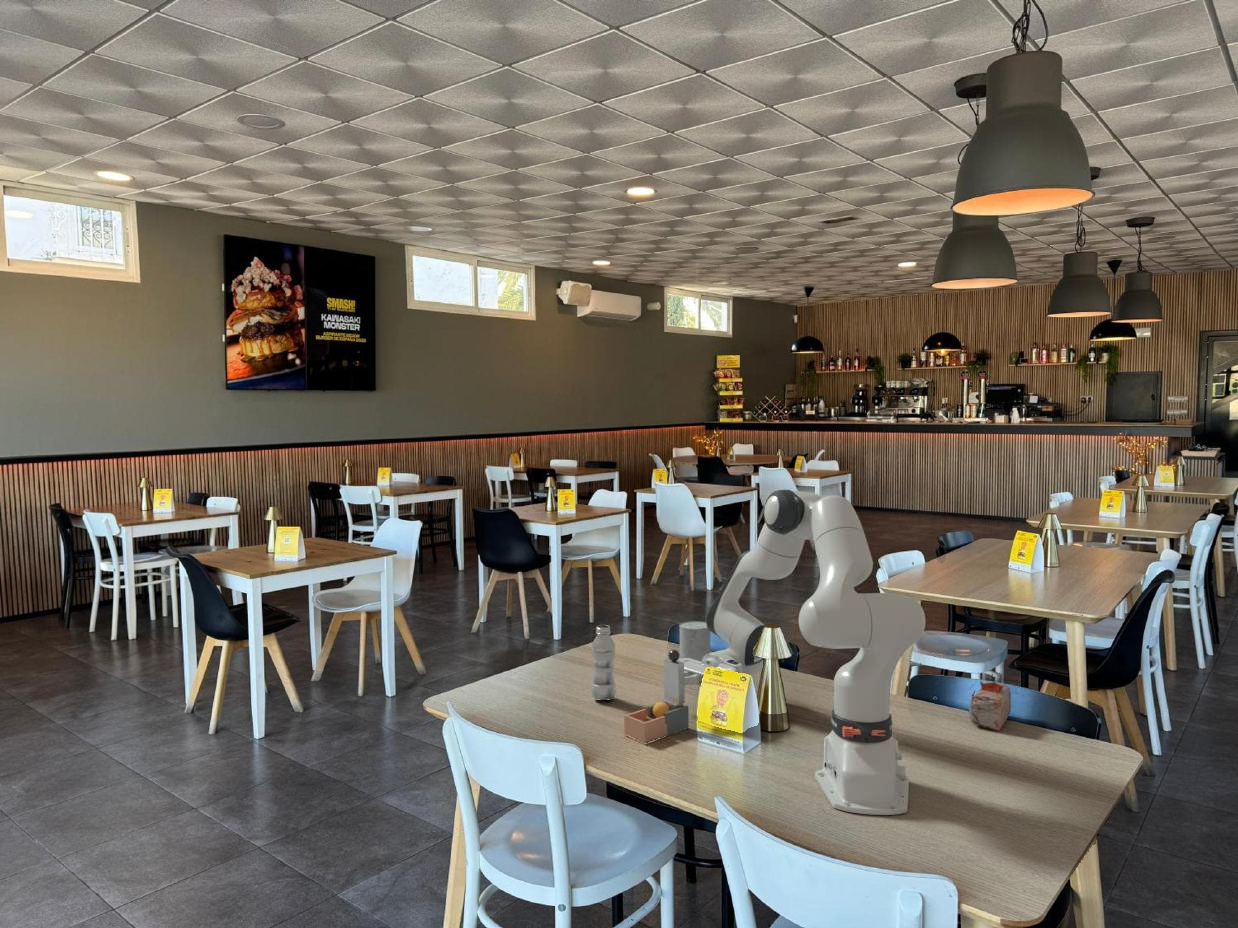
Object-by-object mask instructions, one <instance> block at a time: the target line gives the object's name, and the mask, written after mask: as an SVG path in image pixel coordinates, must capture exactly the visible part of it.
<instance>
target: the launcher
mask: <svg viewBox="0 0 1238 928" xmlns="http://www.w3.org/2000/svg"><path fill="white" fill-rule="evenodd" d="M655 704H656V703H653V704H652V705H649V706H647V707H646V715H647V717H649V718H651V719H656V717H655V716H654V714H653V707H654V706H655ZM689 715H690V714H689V705H683V707H680V708H677V709H674V710H671V711H668V712H665V713H664V716H665V724H667V735H669V734H671V735H673V734H672V733H674V734H676V733H675V732H677V733H679V732H678V731H680V730H683V729H685V728H688V727H689V726H690V725H689V724H690V723H689ZM688 729H689V728H688ZM685 730H686V729H685ZM683 731H684V730H683ZM680 732H681V731H680ZM669 736H670V735H669Z"/></svg>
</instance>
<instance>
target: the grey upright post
mask: <svg viewBox="0 0 1238 928" xmlns="http://www.w3.org/2000/svg"><path fill="white" fill-rule="evenodd" d="M667 656H668V657H667V659H663V675H664V676H663V680H664V681H663V682H664V683H663V685H664V686H663V687H664V691H663V692H664V693H663V694H664V699H663V700H662V702H664V703H666V704H667V705H668V707H669V711H671V710H674V709H677V708H680V707H683V706H684V704H685V691H686V690H685V686H684V662H681V661H677V660H678V659H680V651H678V650H677V649H671V650H670V651H668V655H667Z"/></svg>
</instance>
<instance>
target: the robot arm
mask: <svg viewBox="0 0 1238 928" xmlns="http://www.w3.org/2000/svg"><path fill="white" fill-rule="evenodd" d="M763 519H764V524H763V526H762V529H761V530H760V532H759V536H758V538H757V540H756V541H757V542H756V543H755V545H754V547H753V548H752V549H750V550H748V549H747V550H746V551H743V552H742V554H741V555H740V556H739V557H738V558H737V560H736V562H735V563H734V565H733V566H732V568H731V570H730V571H729V574H728V576H727V578H726V580H725V582H724V584H723V585H722V588H721V589H720V590H719V593H718V595H717V596H716V598H715V600H713V601H712V603H710V605H709V607H708V608H707V611H706V614H705V622H706V624H707V628H708V630H709V631H710V633H712V634H714V635H715V636H717V637H719V638H720V639H722V640H723V641H725V642H726V643H727V644H728V648H726V649H721V650H720V649H719V650H717V651H713V652H710V653H709V654H706V655H705V656H704V657H703V659H702V661H698V660H694V659H691V658H680V657H679V659H678V660H677V661H681V662H684V687H685V686H688V685H690V686H691V685H696V686H699V687H702V686H701V683H702V678H703V676H704V671H705V669H706V667H714V668H720V669H722V670H730V671H735V672H738V673H747V674H749V675H751V676H752V677H754V676H756V675H758V674H759V673H760V672H762V671H763V670H762V668H763V660H762V658H756V657H753V654H752V653H753V648H754V646H755V645H756V643H757V642H758V639H759V637H760V636H761V633H762V629H763V628H764V627H768V626H766V625H765V623H763V622H762V621H760V620H759V619H757V618H756V617H755V616H753V615H751V614H750V613H749V612H748V611H747V610H746V609H743V608H742V606H741V605H740V603H739V602H740V601H739V599H740V598H741V596H742V594H743V593H744V590H745V588H746V587H747V585H748V583H749V581H750V580H751V578H757V579H762V580H768V581H769V580H770V581H772V580H773V581H775V580H781V579H784V578H786V577H788V576H790V574H792V573H793V571H794V570H795V568H797V567H796V566H797V565H798V562H799V560H800V556H801V554H802V551H803V548H804V545H805V541H807V540H808V541H812V542H813V544H814V550H815V552H816V556H817V557H816V558H817V561H818V562H817V563H818V567H819V583H818V586H817V588H816V590H815V592H814V593H813V594H812V595H811V596H810V597H809V598H807V600H806V601H804V603H803V604H802V606H801V608H800V610H799V615H798V626H799V630H800V633H801V635H802V636H803V638H804V639H805V641H806V642H807V643H808V644H809V645H811V646H814V647H819V648H825V649H832V650H838V649H839V650H843V649H859V650H858V652H857V654H856V655H855V656H854V657H853V659H851V660H850V661H849V662H847V663H845V664H843V665H842V666H840V667H839V669H838V670H837V671H836V673H835V676H834V678H833V709H832V710H831V716H830V717H831V719H830V720H831V729H832V730H831V731H830V732H829V733H828V735H826V736H825V737H824V741H823V742H824V745H823V768H822V769H818V770H816V771H815V773H814V778H815V780H816V782H817V783H818V785H819V786H820V789H821V790H822V792H823V793H824V794H825V796H826V798H827V799H828V802H830V805H831V806H832V807H833V809H838V810H839V811H843V812H848V813H854V814H862V815H875V816H876V815H877V816H879V815H880V816H889V815H891V816H893V815H894V816H895V815H901V814H906V813H907V812H908V807H909V796H910V795H909V793H910V792H909V791H910V779H909V776H907V775H906V766H905V765H899V761H901V760H903V759H902V758H903V754H902V752H899V741H898V740H897V739H896V738H895V737H894V736H893V720H892V714H891V713H890V709H891V708H890V706H891V704H890V703H891V702H890V701H891V688H892V687H891V686H892V681H893V676H894V672H895V669H896V668H897V665H898V663H899V661H900V660H901V658H902V657H903V656H904V654H905V653H906V651H907V650H909V648H910V647H911V646H912V645H914V644H915V643H917V642H918V641H919V640H920V639H921V637H922V635H923V634H924V631H925V629H926V628H925V627H926V614H925V611H924V609H923V607H922V606H921V604H920V602H919V601H918V600H917V598H915V597H913V596H911V595H906V594H901V593H894V592H872V593H871V592H870V593H860V592H859V593H858V592H857V591H856V590H855V587H857V586H859V585H860V584H862V583H863V582H864V581H866V580H867V579H868V578H869V577H870V575H871V574H872V571H873V567H874V562H873V557H872V554H871V551H870V547H869V544H868V541H867V538H866V534H865V531H864V529H863V525H862V523H861V521H860V518H859V516H858V514H857V512H856V510H855V508H854V506H853V505H852V503H851V502H850V501H849V500H848V499H847V498H845V497H844V496H841V495H835V494H834V495H827V496H826V495H823V494H817V493H814V492H810V491H798V490H796V491H795V490H793V491H792V490H791V489H780V490H775V491H773V492H772V493H771V494H770V495H769V496H768V497H767V499H766V501H765V503H764V507H763Z"/></svg>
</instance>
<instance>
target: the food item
mask: <svg viewBox="0 0 1238 928" xmlns="http://www.w3.org/2000/svg"><path fill="white" fill-rule="evenodd" d="M979 684H980V686H981V687H980V688H979V690H978V691H977V693H976V690H973V692H972V693H971V697H970V700H969V719H970V722H971V724H973V725H975V726H978V727H980V728H983V729H987V728H988V729H987V730H991V731H992V730H993V731H997V732H999V731H1001V729H1002V728H1003V726H1004V725H1005V723H1006V721H1007V719H1008V718H1009V716H1010V713H1011V711H1012V700H1011V699H1012V697H1011V696H1012V694H1011V693H1012V692H1011V688H1010V687H1009V686H1008V685H1006V684H1004V683H1000V682H997V681H987V682H983V681H979Z"/></svg>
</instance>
